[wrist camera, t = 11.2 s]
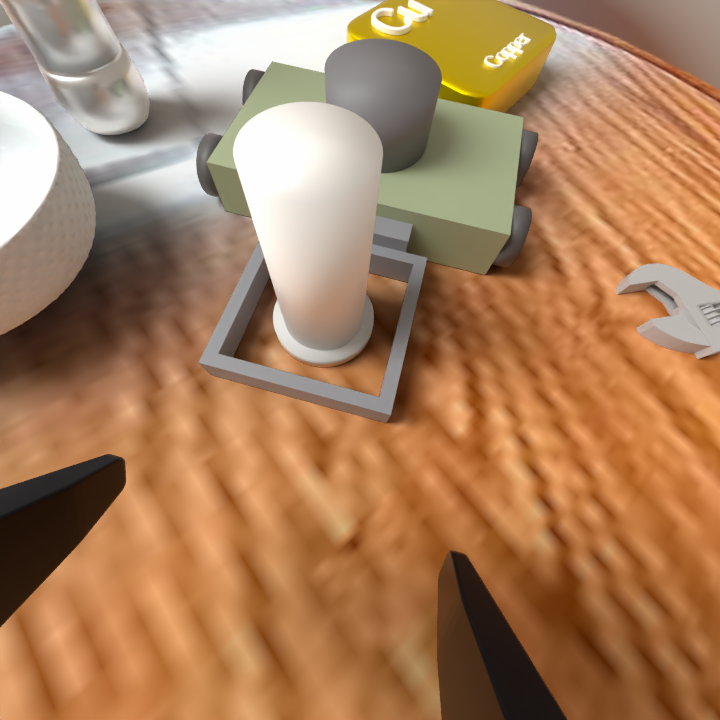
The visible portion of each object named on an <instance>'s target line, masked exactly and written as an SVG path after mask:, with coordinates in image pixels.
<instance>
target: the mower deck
mask: <svg viewBox="0 0 720 720" xmlns="http://www.w3.org/2000/svg"><path fill="white" fill-rule="evenodd" d="M441 83H442V74H441V70H440V68H439V66H438V65H437V63H436V62H435V61H434V60H433V59H432V57H430V56H429V55H428V54H427V53H425V52H424V51H422V50H420V49H418V48H417V47H414V46H412V45H410V44H407V43H404V42H400V41H395V40H390V39H376V38H374V39H362V40H357V41H353V42H350V43H347V44H344V45H342V46H341V47H339V48H337V49H336V50H335V51H333V52H332V53H331V54H330V56H329V57H328V58H327V61H326V63H325V73H321V72H317V71H312V70H308V69H303V68H299V67H294V66H290V65H285V64H281V63H276V62H272V63H271V64H270V66H269V67H268V69H267V70H266V72H263V71H259V70H254V69H252V70H250V71H249V72H248V73H247V75H246V77H245V81H244V86H243V107H242V108H241V110H240V111H239V113H238V114H237V116H236V118H235V119H234V121H233V122H232V124H231V125H230V127H229V128H228V130H227V131H226V133H225V134H224V136H221V135H217V134H212V133H209V134H207V135H205V136H204V137H203V138H202V140H201V142H200V144H199V147H198V151H197V160H196V165H197V174H198V178H199V182H200V184H201V186H202V188H203V190H204V191H205V192H206V193H207V194H209V195H211V196H215V197H220V198H221V201H222V203H223V206H224V208H225V211H228V212H232V213H236V214H240V215H244V216H248V217H252V216H251V213H250V210H249V207H248V203H247V200H246V197H245V194H244V191H243V187H242V184H241V181H240V178H239V175H238V171H237V168H236V165H235V161H234V157H233V147H234V142H235V139H236V137H237V135H238V133H239V131H240V130H241V129H242V127H243V126H244V125H245V124H246V123H247V122H248V121H249V120H250V119H252V118H253V117H254V116H256V115H257V114H259V113H261V112H263V111H265V110H267V109H270V108H272V107H275V106H279V105H282V104H287V103H294V102H320V103H327V104H331V105H335V106H339V107H342V108H344V109H347V110H349V111H351V112H353V113H355V114H357V115H359V116H360V117H362V118H363V119H364V120H365V121H367V122H368V123H369V124H370V125H371V126H372V127H373V128H374V130H375V131H376V133H377V134H378V136H379V138H380V140H381V143H382V147H383V160H382V168H381V176H380V184H379V192H378V200H377V208H376V217H375V225H374V233H373V241H372V249H371V257H370V265H369V273H372V274H376V275H380V276H384V277H388V278H392V279H396V280H400V281H404V282H408V284H407V288H406V292H405V295H404V299H403V303H402V307H401V311H400V315H399V319H398V323H397V327H396V331H395V335H394V339H393V343H392V347H391V351H390V355H389V359H388V363H387V367H386V371H385V375H384V378H383V382H382V386H381V390H380V394H379V397H376V396H373V395H369V394H365V393H362V392H358V391H354V390H351V389H347V388H343V387H340V386H336V385H332V384H328V383H325V382H321V381H317V380H314V379H310V378H306V377H303V376H299V375H295V374H292V373H288V372H284V371H280V370H277V369H273V368H269V367H266V366H262V365H258V364H255V363H251V362H247V361H244V360H240V359H236V358H233V357H234V354H235V352H236V350H237V348H238V346H239V343H240V341H241V339H242V337H243V335H244V332H245V330H246V328H247V326H248V324H249V321H250V319H251V317H252V315H253V313H254V310H255V308H256V306H257V304H258V302H259V299H260V297H261V295H262V293H263V291H264V288H265V286H266V284H267V282H268V280H269V277H270V274H269V271H268V268H267V264H266V261H265V258H264V255H263V252H262V248H261V245H260V242H258V244H257V246H256V248H255V250H254V252H253V254H252V256H251V258H250V260H249V262H248V264H247V266H246V268H245V270H244V272H243V274H242V276H241V278H240V280H239V282H238V284H237V286H236V288H235V290H234V292H233V294H232V296H231V298H230V300H229V302H228V304H227V306H226V308H225V310H224V312H223V314H222V316H221V318H220V320H219V322H218V324H217V326H216V328H215V330H214V332H213V334H212V336H211V338H210V340H209V342H208V344H207V346H206V348H205V350H204V352H203V355H202V357H201V359H200V361H199V364H200V365H201V366H202V367H203V368H205V369H206V370H207V371H208V372H209V373H210V374H211V375H213V376H216V377H220V378H224V379H227V380H231V381H235V382H238V383H242V384H246V385H249V386H253V387H257V388H260V389H264V390H267V391H271V392H275V393H278V394H282V395H286V396H289V397H293V398H297V399H300V400H304V401H307V402H311V403H315V404H318V405H322V406H326V407H329V408H333V409H337V410H340V411H344V412H348V413H351V414H355V415H358V416H362V417H366V418H369V419H373V420H377V421H380V422H384V423H387V421H388V419H389V417H390V416H391V412H392V408H393V404H394V399H395V395H396V391H397V386H398V382H399V378H400V374H401V369H402V365H403V361H404V356H405V352H406V348H407V344H408V339H409V335H410V331H411V326H412V322H413V318H414V313H415V309H416V305H417V301H418V296H419V292H420V288H421V283H422V279H423V275H424V271H425V266H426V262H427V261H430V262H434V263H438V264H442V265H446V266H450V267H454V268H458V269H462V270H466V271H470V272H474V273H478V274H482V275H485V274H486V273H487V271H488V270H489V268H490V266H491V265H492V264H493V265H497V266H501V267H505V268H508V267H509V266H510V265H511V264H512V263H513V262H514V261H515V259H516V258H517V256H518V254H519V252H520V250H521V248H522V246H523V244H524V242H525V239H526V237H527V234H528V231H529V227H530V223H531V216H532V212H531V209H530V208H527V207H523V206H518V205H514V199H515V190H516V189H517V188H518V186H519V185H520V184H521V182H522V180H523V178H524V177H525V175H526V173H527V170H528V168H529V166H530V164H531V161H532V158H533V156H534V153H535V149H536V146H537V141H538V133H536V132H532V131H527V130H523V129H522V128H523V120H524V117H520V116H516V115H511V114H507V113H502V112H498V111H493V110H489V109H484V108H480V107H475V106H471V105H466V104H462V103H457V102H452V101H448V100H443V99H439V98H438V96H439V91H440V87H441Z"/></svg>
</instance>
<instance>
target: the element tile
mask: <svg viewBox="0 0 720 720" xmlns="http://www.w3.org/2000/svg"><path fill="white" fill-rule="evenodd" d="M374 38H376V39H390V40H395V41H400V42H404V43H407V44H410V45H412V46H414V47H417V48H418V49H420V50H422V51H424V52H425V53H427V54H428V55H429V56H430V57H432V59H433V60H434V61H435V62H436V63H437V65H438V66H439V68H440V70H441V74H442V83H441V87H440V91H439V96H438V98H439V99H443V100H448V101H452V102H457V103H462V104H466V105H471V106H475V107H480V108H484V109H489V110H493V111H498V112H502V113H505V112H507V111H508V110H509V109H510V108H511V107H512V106H513V105H514V104H515V103H516V102H517V101H518V100H519V99H520V98H521V97H522V96H523V95H525V94H526V93H527V92H528V91H529V90H530V89H531V88H532V87H533V86H534V84H535V82H536V80H537V78H538V76H539V74H540V72H541V70H542V67H543V65H544V63H545V61H546V59H547V57H548V55H549V52H550V50H551V48H552V46H553V44H554V42H555V39H556V32H555V28H554V27H553V26H552V25H550V24H548V23H546V22H544V21H542V20H539V19H537V18H535V17H533V16H531V15H528V14H526V13H524V12H522V11H519V10H517V9H515V8H513V7H510V6H508V5H506V4H504V3H501V2H499V1H497V0H386V1H384V2H382V3H381V4H379V5H377V6H376V7H374V8H372V9H370V10H369V11H367V12H365V13H364V14H362V15H360V16H358V17H357V18H355V19H354V20H352V21H351V22H350V23H349V25H348V27H347V43H350V42H353V41H357V40H362V39H374Z"/></svg>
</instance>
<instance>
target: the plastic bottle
mask: <svg viewBox="0 0 720 720" xmlns="http://www.w3.org/2000/svg"><path fill="white" fill-rule="evenodd" d="M0 3H1V5H2V6H3V8H4V10H5V11H6V13H7V14H8V16H9V18H10V19H11V21H12V23H13V24H14V26H15V28H16V29H17V31H18V33H19V34H20V36H21V37H22V39H23V41H24V42H25V44H26V46H27V47H28V49H29V50H30V52H31V54H32V55H33V57H34V59H35V60H36V62H37V65H38V68H39V70H40V72H41V74H42V76H43V78H44V80H45V81H46V83H47V85H48V87H49V88H50V90H51V92H52V94H53V95H54V97H55V99H56V100H57V101H58V103H59V104H60V105H61V106H62V107H63V108H64V109H65V110H66V112H67V113H68V114H69V115H70V116H71V117H72V118H73V119H74V120H75V121H76V122H77V123H79V124H80V125H82V126H84V127H85V128H87V129H89V130H90V131H93V132H95V133H98V134H103V135H119V134H124V133H128V132H130V131H133V130H135V129H137V128H138V127H140V126H141V125H142V124H143V123H144V122H145V121H146V120H147V118H148V115H149V107H150V100H149V96H148V93H147V90H146V87H145V84H144V80H143V78H142V76H141V75H140V73H139V71H138V70H137V68H136V66H135V64H134V63H133V61H132V59H131V58H130V56H129V55H128V53H127V52H126V50H125V49H124V47H123V46H122V45H121V44H120V42H119V41H118V39H117V37H116V35H115V34H114V32H113V30H112V28H111V26H110V25H109V23H108V21H107V19H106V17H105V16H104V14H103V12H102V10H101V9H100V7H99V5H98V3H97V1H96V0H0Z"/></svg>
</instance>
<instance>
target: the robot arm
mask: <svg viewBox="0 0 720 720" xmlns="http://www.w3.org/2000/svg"><path fill="white" fill-rule="evenodd" d="M125 483H126V469H125V460H124V459H123V458H122V457H119V456H115V455H111V454H107V455H103V456H100V457H97V458H94V459H91V460H88V461H85V462H82V463H79V464H76V465H73V466H70V467H67V468H64V469H60V470H57V471H54V472H51V473H48V474H45V475H42V476H39V477H36V478H33V479H30V480H27V481H24V482H21V483H18V484H15V485H12V486H9V487H6V488H2V489H0V627H1V626H2V625H3V624H4V623H5V622H6V621H7V620H8V619H9V618H10V616H11V615H12V614H13V613H14V612H15V611H16V610H17V609H18V608H19V607H20V606H21V605H22V604H23V603H24V602H25V601H26V600H27V599H28V597H29V596H30V595H31V594H32V593H33V592H34V591H35V590H36V589H37V588H38V587H39V586H40V585H41V584H42V583H43V582H44V581H45V579H46V578H47V577H48V576H49V575H50V574H51V573H52V572H53V571H54V570H55V569H56V568H57V567H58V566H59V565H60V564H61V563H62V562H63V560H64V559H65V558H66V557H67V556H68V555H69V554H70V553H71V552H72V551H73V550H74V549H75V548H76V547H77V545H78V544H79V543H80V542H81V541H82V540H83V539H84V537H85V536H86V535H87V534H88V533H89V531H90V530H91V529H92V528H93V526H94V525H95V524H96V523H97V521H98V520H99V519H100V518H101V516H102V515H103V514H104V513H105V511H106V510H107V509H108V508H109V506H110V505H111V504H112V503H113V501H114V500H115V499H116V498H117V496H118V495H119V494H120V493H121V491H122V490H123V488H124V486H125ZM437 661H438V675H439V688H440V702H441V716H442V720H567V718H566V716H565V715H564V713H563V712H562V710H561V708H560V707H559V705H558V703H557V702H556V700H555V698H554V697H553V695H552V694H551V692H550V690H549V689H548V687H547V685H546V684H545V682H544V681H543V679H542V677H541V676H540V674H539V672H538V671H537V669H536V668H535V666H534V664H533V663H532V661H531V659H530V658H529V656H528V654H527V653H526V651H525V650H524V648H523V646H522V645H521V643H520V641H519V640H518V638H517V637H516V635H515V633H514V632H513V630H512V628H511V627H510V625H509V623H508V622H507V620H506V619H505V617H504V615H503V614H502V612H501V610H500V609H499V607H498V606H497V604H496V602H495V601H494V599H493V597H492V596H491V594H490V593H489V591H488V589H487V588H486V586H485V584H484V583H483V581H482V579H481V578H480V576H479V575H478V573H477V571H476V570H475V568H474V566H473V565H472V563H471V562H470V560H469V558H468V557H467V556H466V555H465V554H464V553H460V552H457V551H453V550H451V551H449V552H448V554H447V556H446V558H445V561H444V563H443V565H442V568H441V570H440V573H439V579H438V617H437Z"/></svg>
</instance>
